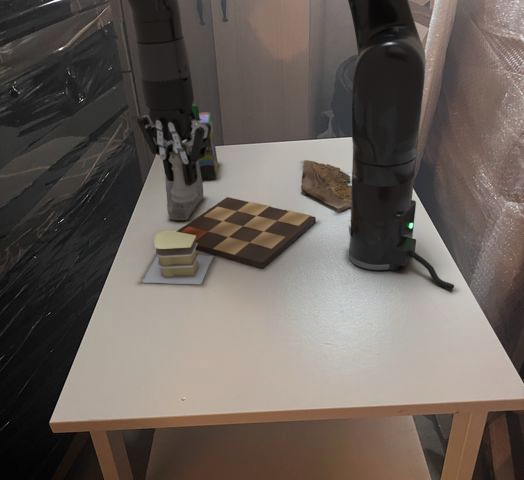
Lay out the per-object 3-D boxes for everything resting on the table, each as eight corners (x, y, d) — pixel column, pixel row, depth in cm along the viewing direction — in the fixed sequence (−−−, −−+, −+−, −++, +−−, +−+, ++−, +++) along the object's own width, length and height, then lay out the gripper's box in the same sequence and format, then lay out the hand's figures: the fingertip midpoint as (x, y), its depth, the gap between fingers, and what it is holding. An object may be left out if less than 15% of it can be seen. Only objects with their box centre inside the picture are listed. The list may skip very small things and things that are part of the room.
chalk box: (217, 163, 133) (209, 95, 124) (216, 180, 126) (208, 108, 116) (177, 166, 133) (166, 98, 124) (174, 183, 126) (162, 112, 117)
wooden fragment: (369, 208, 110) (369, 202, 110) (312, 215, 110) (312, 210, 109) (335, 158, 130) (335, 154, 130) (286, 164, 130) (286, 160, 129)
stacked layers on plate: (213, 256, 101) (209, 227, 97) (201, 284, 94) (196, 254, 91) (157, 254, 102) (152, 226, 99) (141, 282, 96) (134, 253, 92)
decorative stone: (192, 222, 111) (180, 144, 102) (163, 221, 112) (148, 144, 103) (208, 197, 119) (198, 123, 110) (180, 197, 120) (168, 122, 111)
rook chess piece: (178, 192, 103) (170, 147, 98) (201, 194, 101) (195, 148, 96) (167, 203, 99) (159, 157, 94) (192, 205, 98) (184, 158, 93)
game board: (315, 222, 108) (315, 216, 107) (262, 269, 97) (262, 262, 96) (227, 202, 117) (227, 196, 116) (169, 242, 106) (168, 236, 105)
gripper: (113, 74, 88) (136, 182, 99) (185, 83, 82) (201, 198, 93) (146, 61, 93) (164, 166, 104) (217, 69, 87) (229, 180, 98)
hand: (182, 181), depth 98 cm, fingers closed on rook chess piece, 3 cm apart
